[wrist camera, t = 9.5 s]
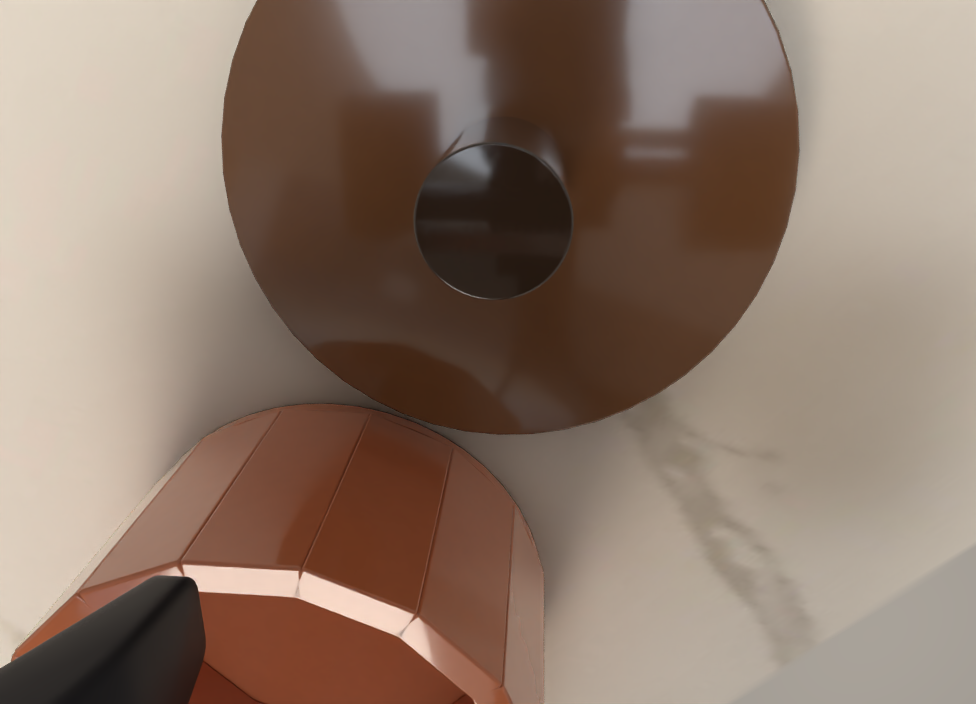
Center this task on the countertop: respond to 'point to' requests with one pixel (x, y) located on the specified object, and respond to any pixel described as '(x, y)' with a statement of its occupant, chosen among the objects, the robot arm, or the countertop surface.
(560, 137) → the lid
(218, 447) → the crock
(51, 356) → the countertop surface
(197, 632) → the robot arm
